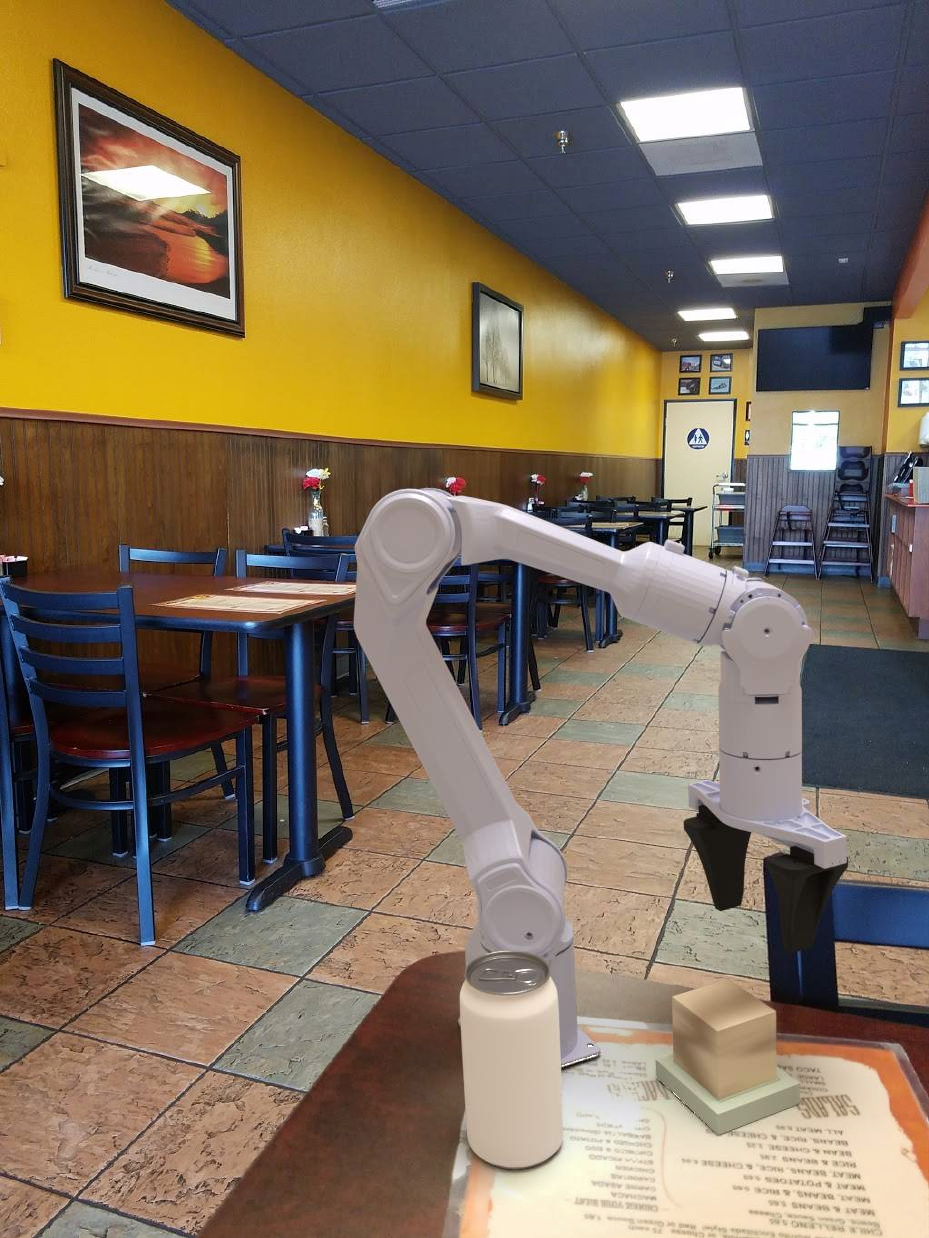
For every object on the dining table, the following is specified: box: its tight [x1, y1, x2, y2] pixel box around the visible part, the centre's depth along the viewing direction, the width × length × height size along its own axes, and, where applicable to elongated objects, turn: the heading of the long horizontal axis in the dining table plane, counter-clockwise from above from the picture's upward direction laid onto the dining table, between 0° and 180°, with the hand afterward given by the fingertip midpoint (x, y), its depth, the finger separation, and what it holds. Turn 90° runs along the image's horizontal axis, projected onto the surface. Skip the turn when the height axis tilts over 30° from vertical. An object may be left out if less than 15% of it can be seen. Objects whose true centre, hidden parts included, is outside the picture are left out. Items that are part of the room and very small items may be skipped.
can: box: [459, 950, 564, 1170], centre depth 63 cm, size 6×6×12 cm
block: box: [671, 978, 777, 1100], centre depth 67 cm, size 5×5×5 cm
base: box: [655, 1052, 801, 1136], centre depth 68 cm, size 7×7×2 cm
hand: (761, 926), depth 71 cm, fingers open, 7 cm apart
